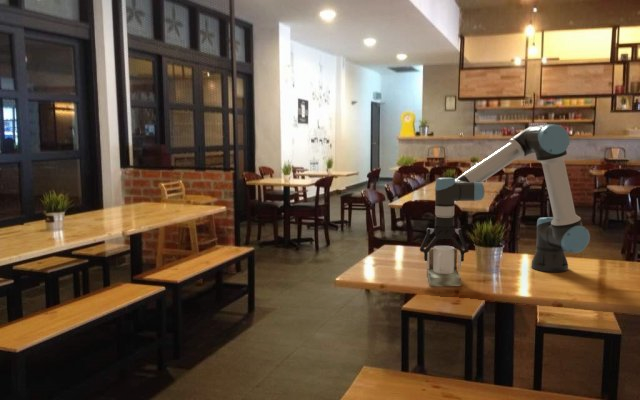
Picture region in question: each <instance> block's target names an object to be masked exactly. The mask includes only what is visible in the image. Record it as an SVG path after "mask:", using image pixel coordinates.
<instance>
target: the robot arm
mask: <svg viewBox="0 0 640 400" xmlns="http://www.w3.org/2000/svg"><path fill="white" fill-rule="evenodd" d="M570 140H571V139H570V134H569V133H568V131H567V130H566V129H565V128H564V127H563V126H562V125H558V124H554V123H548V124H547V123H545V124H534V125H533V124H532V125H531V126H527V128H525V129H523V130H522V131H520V132H518V133H517V134H516V135H514V136H513V137H511V138H510V139H509V140H508V143H506V144H505V145H504V146H502V147H501V148H499V149H498V150H496V151H495V152H493V153H492V154H490V155H489V156H488V157H486V158H484V159H483V160H482V161H481V160H480V162H478V163H477V164H475V165H473V166H472V167H471V168H469V169H468V170H466V171H464V173H462V174H460V175H458V177H455V178H454V177H437V178H436V180H435V187H434V191H435V192H434V193H435V194H434V195H435V196H434V197H435V203H434V205H435V206H434V208H435V209H434V215H435V217H434V228H430V227H427V228H426V234H425V236H424V238H423V240H422V243H421V245H420V248H419V250H420V252H421V253H423V259H424V261H425V262H426V270H427V269H429V252H428V251H429V250H430V249H431V248H433V247H434V246H435V244H436V243H437V241H439V240H450V241H452V243H453V245H455V247H456V249H457V250H458V251H459V252H457V259H458V260H457V264H458V265H457V269H458V270H459V271H461V270H462V262H464V260H465V254H466V253H469V251H470V250H469V248H468V245H467V242H466V241H465V238H464V235H463V229H462V228H455V217H454V216H455V202H468V201H469V202H476V201H481V200H482V199H484V198H485V185H484V184H483V182H484V181H486V180H487V179H489V178H491V177H492V176H493V175H495V174H497V173H498V172H500V171H501V170H502V169H504V168H506V167H508V165H510V164H512V163H513V162H515V161H516V160H518V159H524V158H525V157H526V156H529V155H531V154H535V156H536V161H537V162H538V163H541V166H542V171H543V174H544V175H543V176H544V180H545V185H546V189H547V193H548V198H549V202H550V207H551V212H552V216H547V217H544V216H543V217H539V218H538V219H537V221H536V244H535V245H536V249H535V252H534V255H533V258H532V260H531V269H533V270H535V271H541V272H547V273H548V272H549V273H563V272H567V271H569V263H568V260H567V256H566V254H565V252H567V253H573V254H576V253H577V254H578V253H580V252H582V251H584V250H585V249H586V248H587V246H588V245H589V243H590V240H591V235H590V234H591V233H590V231H589V229H587V228H586V227H585V226H583V222H582V218H581V216H579V215H577V213H576V209H575V204H574V200H573V194H572V191H571V185H570V181H569V176H568V172H567V166H566V162H565V158H566V156H567V155H568V152H567V151H568V150H567V149H568V148H569V145H570ZM433 233H434V234H435V236H433V238H432V240H430V242H429V241H428V240H429V238H430V236H431V235H432V234H433ZM455 233H456V235H458V237H459V240H460V242H461V245H462V246H463V248H462V247H461V246H460V244H459V242H457V240H456V238H454V234H455ZM428 242H429V243H428ZM427 243H428V245H427ZM426 245H427V246H426Z"/></svg>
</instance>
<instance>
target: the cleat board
mask: <svg viewBox="0 0 640 400" xmlns="http://www.w3.org/2000/svg"><path fill="white" fill-rule="evenodd" d="M428 252H429V269H427V268H426V278H427V281H428V283H429V284H428V285H429V287H443V286H462V278H461V275H460V273H459V271H458V270H457V269H458V265H457V264H458V260H457V259H458V248H457V247H456V248H455V247H454V272H453V273H452V274H437V273H435V272H434V271H433V257H434V247H431V249H430V250H429V251H428Z"/></svg>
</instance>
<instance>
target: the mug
mask: <svg viewBox="0 0 640 400" xmlns="http://www.w3.org/2000/svg"><path fill="white" fill-rule="evenodd" d="M433 248H434V257H433V271H434V272H435V273H437V274H452V273H453V272H454V248H455V247H454V246H450V245H434V246H433Z"/></svg>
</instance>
